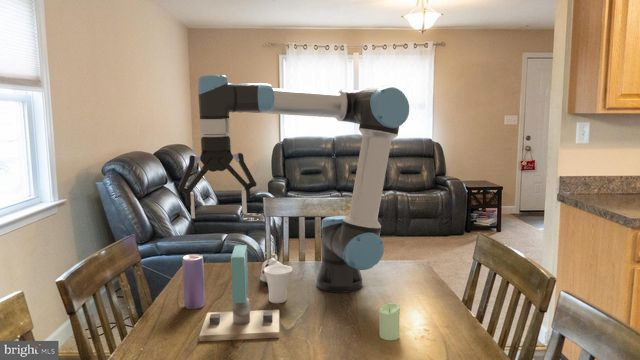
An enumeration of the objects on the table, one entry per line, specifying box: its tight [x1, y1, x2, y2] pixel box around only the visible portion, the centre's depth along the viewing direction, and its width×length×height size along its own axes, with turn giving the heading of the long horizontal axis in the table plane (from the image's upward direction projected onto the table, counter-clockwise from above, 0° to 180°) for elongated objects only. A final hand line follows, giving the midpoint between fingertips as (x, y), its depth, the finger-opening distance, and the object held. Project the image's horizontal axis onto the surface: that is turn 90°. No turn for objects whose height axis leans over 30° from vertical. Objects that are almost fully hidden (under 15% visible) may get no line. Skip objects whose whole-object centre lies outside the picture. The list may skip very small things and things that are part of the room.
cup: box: [264, 264, 294, 304], centre depth 146 cm, size 9×9×10 cm
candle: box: [378, 302, 401, 341], centre depth 122 cm, size 5×5×8 cm
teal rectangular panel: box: [230, 244, 249, 304], centre depth 127 cm, size 3×11×13 cm, turn 5°
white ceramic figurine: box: [259, 253, 284, 283], centre depth 162 cm, size 10×8×15 cm
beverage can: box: [182, 253, 206, 310], centre depth 142 cm, size 6×6×15 cm
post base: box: [198, 297, 280, 342], centre depth 128 cm, size 20×14×8 cm
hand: (219, 215), depth 129 cm, fingers open, 13 cm apart
